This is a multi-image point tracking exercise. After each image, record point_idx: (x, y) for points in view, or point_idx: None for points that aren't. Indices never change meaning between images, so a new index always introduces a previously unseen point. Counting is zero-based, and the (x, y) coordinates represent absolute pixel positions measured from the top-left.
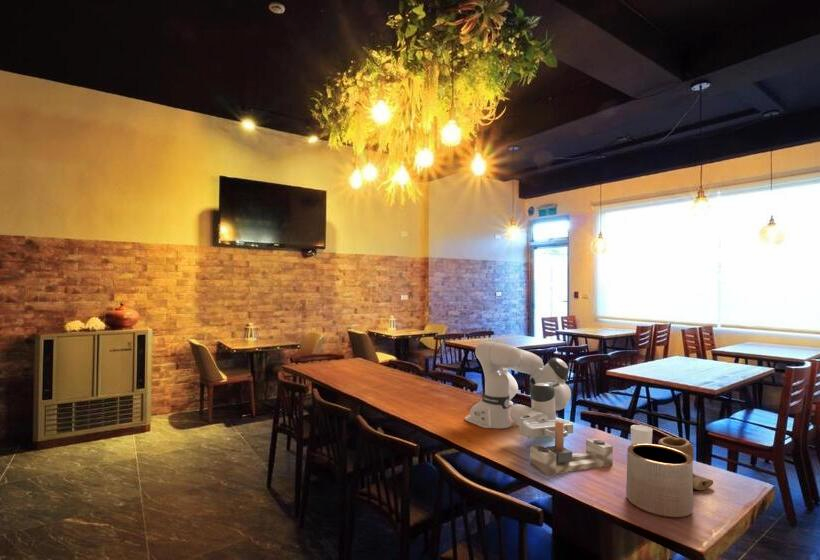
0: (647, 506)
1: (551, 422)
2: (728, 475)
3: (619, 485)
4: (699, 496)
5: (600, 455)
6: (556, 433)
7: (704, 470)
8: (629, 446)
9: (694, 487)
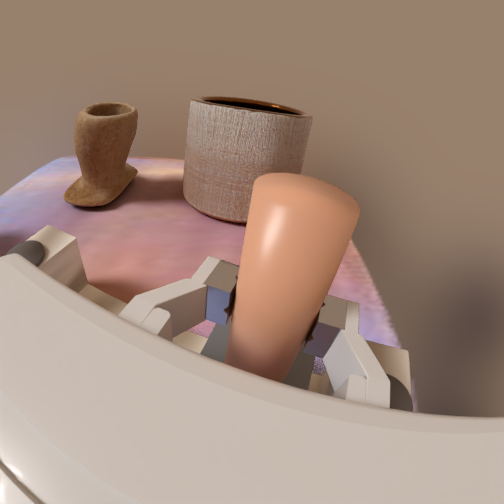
0: None
1: (38, 468)
2: (40, 173)
3: (209, 244)
4: (148, 177)
5: (74, 279)
6: (331, 296)
7: (29, 186)
8: (269, 112)
9: (137, 171)
